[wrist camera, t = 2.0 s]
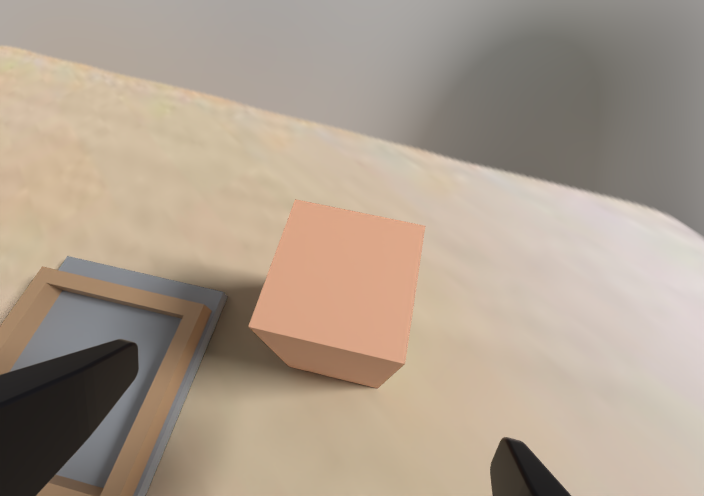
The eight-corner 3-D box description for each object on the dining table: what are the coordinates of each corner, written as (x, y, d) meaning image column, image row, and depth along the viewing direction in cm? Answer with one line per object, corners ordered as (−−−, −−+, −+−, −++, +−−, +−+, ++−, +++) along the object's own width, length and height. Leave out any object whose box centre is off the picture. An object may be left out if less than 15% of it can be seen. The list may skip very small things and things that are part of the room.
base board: (124, 548, 15) (94, 565, 13) (-73, 488, 16) (-126, 497, 14) (227, 296, 20) (216, 284, 19) (76, 261, 21) (52, 246, 19)
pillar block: (377, 388, 18) (405, 363, 10) (288, 366, 19) (248, 326, 11) (393, 301, 20) (425, 225, 12) (313, 284, 21) (295, 199, 13)
